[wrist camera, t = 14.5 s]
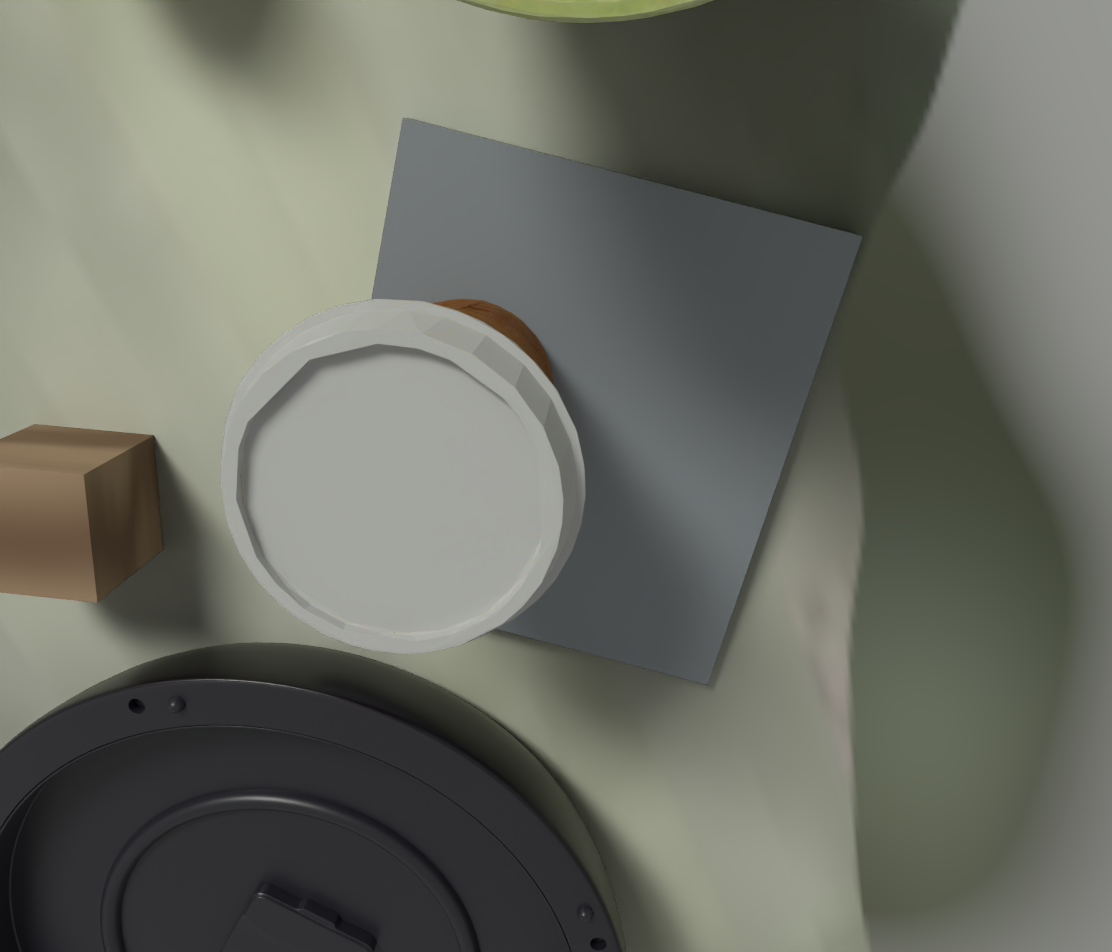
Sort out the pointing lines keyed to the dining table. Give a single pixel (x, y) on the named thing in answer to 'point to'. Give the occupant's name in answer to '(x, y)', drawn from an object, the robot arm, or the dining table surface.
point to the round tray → (288, 817)
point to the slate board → (632, 366)
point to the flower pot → (585, 9)
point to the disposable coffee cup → (403, 472)
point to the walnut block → (76, 511)
